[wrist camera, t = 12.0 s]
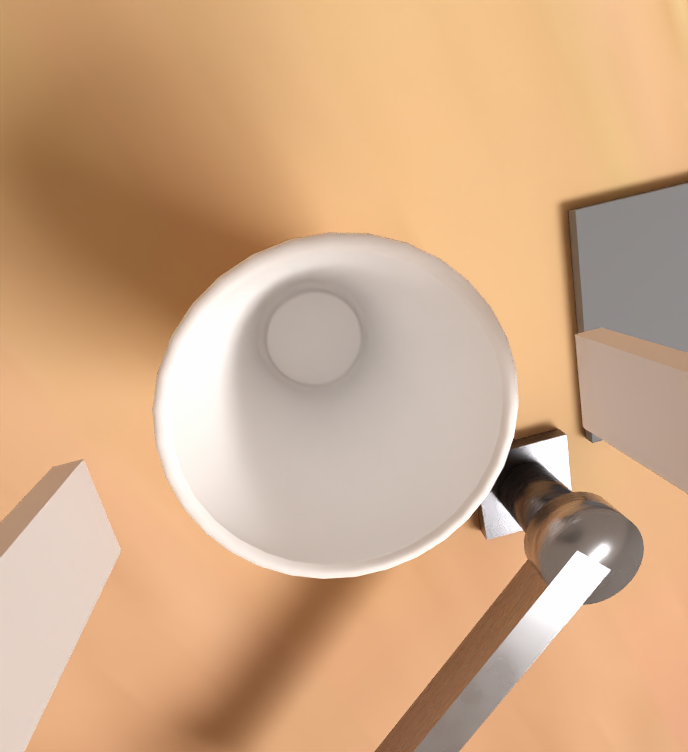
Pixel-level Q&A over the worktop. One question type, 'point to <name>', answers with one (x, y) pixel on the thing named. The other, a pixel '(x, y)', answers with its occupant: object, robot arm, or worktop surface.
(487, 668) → the lever
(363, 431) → the cup
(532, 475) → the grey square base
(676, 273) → the mat
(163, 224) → the worktop surface
